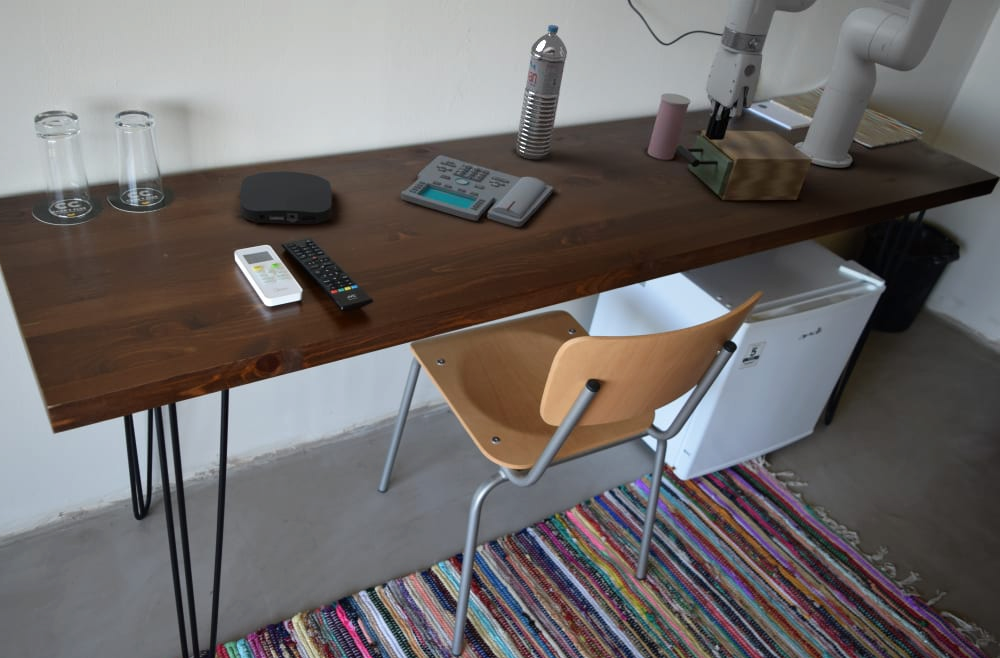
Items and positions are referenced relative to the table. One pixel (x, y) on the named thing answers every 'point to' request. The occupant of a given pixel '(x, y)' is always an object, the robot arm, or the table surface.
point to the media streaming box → (286, 198)
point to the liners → (668, 126)
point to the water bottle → (541, 96)
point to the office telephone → (477, 192)
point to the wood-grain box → (762, 166)
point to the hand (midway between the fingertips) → (714, 137)
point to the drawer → (708, 163)
